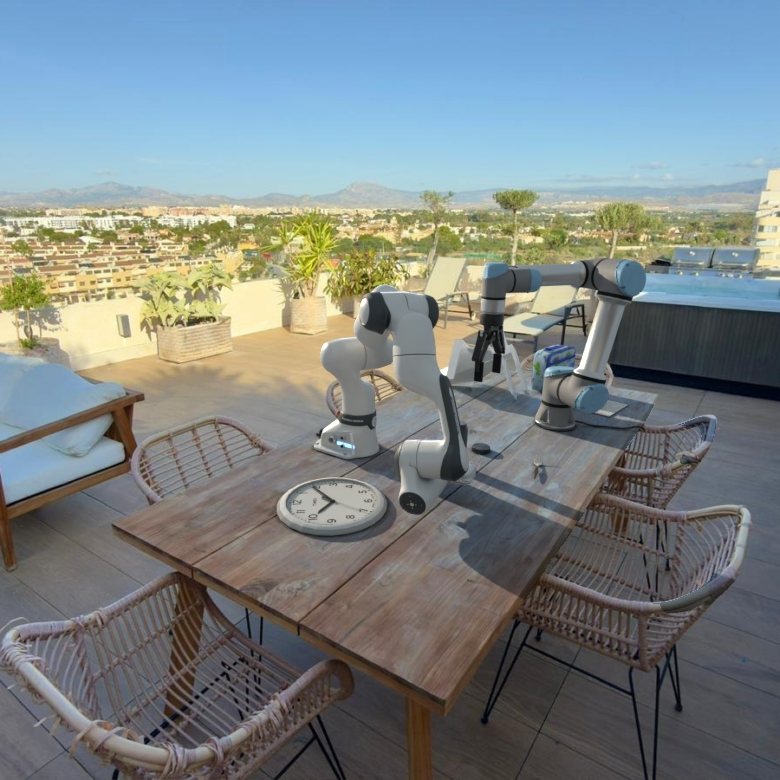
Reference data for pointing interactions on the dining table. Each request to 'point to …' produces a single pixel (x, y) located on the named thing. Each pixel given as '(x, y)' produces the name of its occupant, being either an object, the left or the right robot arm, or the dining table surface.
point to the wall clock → (331, 506)
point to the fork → (537, 465)
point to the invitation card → (611, 408)
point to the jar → (464, 431)
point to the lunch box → (550, 362)
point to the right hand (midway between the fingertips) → (487, 377)
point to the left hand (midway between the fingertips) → (446, 457)
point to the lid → (480, 448)
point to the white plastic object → (464, 366)
